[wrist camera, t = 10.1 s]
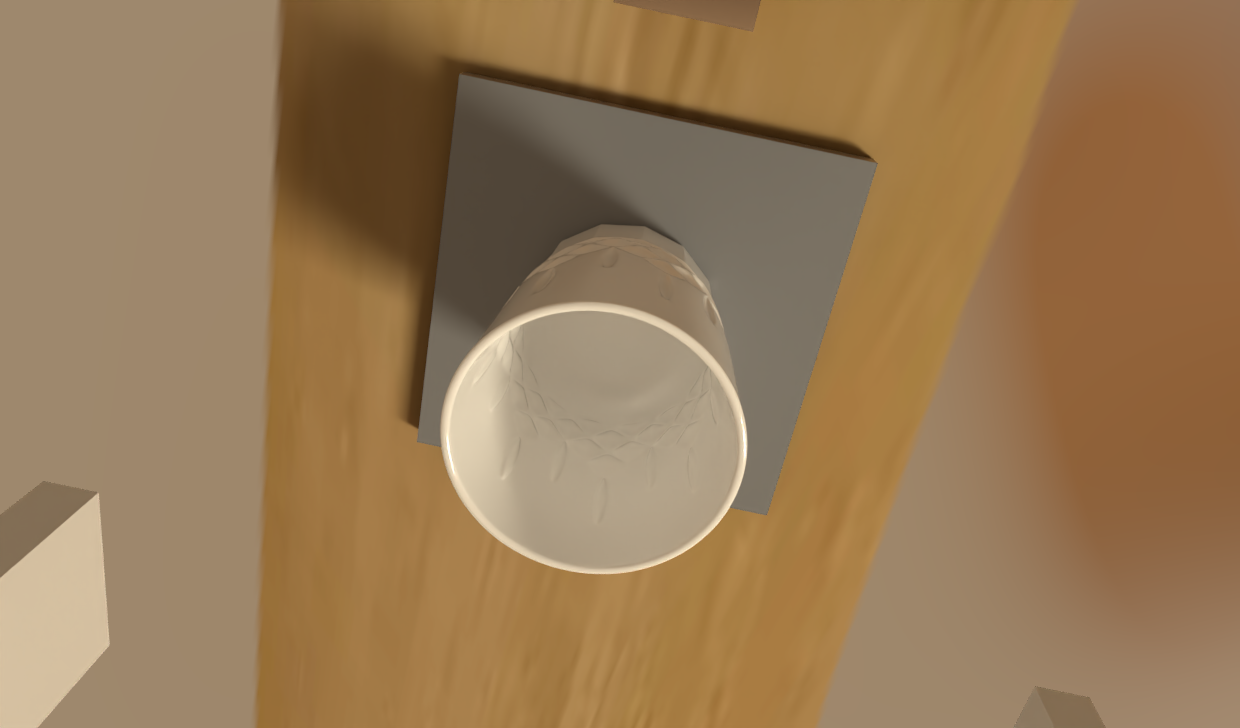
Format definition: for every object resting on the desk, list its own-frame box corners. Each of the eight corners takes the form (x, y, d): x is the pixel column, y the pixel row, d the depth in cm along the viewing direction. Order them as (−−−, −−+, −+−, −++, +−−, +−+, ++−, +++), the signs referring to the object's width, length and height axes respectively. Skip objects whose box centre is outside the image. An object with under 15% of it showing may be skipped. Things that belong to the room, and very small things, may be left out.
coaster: (465, 71, 29) (459, 74, 29) (873, 158, 30) (877, 163, 29) (423, 432, 35) (417, 441, 34) (765, 504, 35) (766, 515, 34)
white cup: (537, 179, 30) (469, 264, 21) (760, 239, 30) (790, 350, 21) (493, 381, 33) (417, 533, 24) (695, 434, 33) (696, 605, 24)
